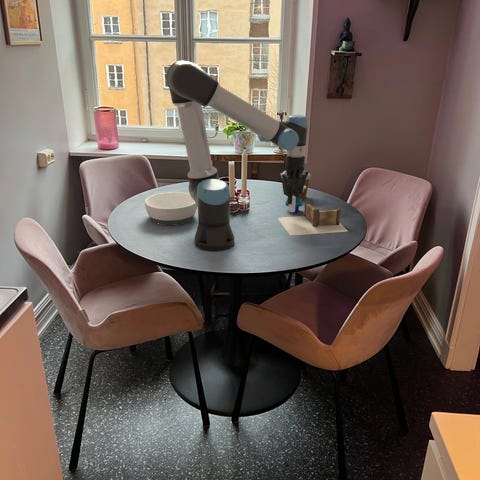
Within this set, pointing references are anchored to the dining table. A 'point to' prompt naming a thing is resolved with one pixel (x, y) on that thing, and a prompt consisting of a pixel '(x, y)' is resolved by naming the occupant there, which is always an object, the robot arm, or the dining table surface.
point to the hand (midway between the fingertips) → (291, 211)
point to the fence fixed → (326, 217)
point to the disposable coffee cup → (306, 187)
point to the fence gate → (308, 211)
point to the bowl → (170, 207)
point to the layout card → (307, 226)
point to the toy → (297, 202)
